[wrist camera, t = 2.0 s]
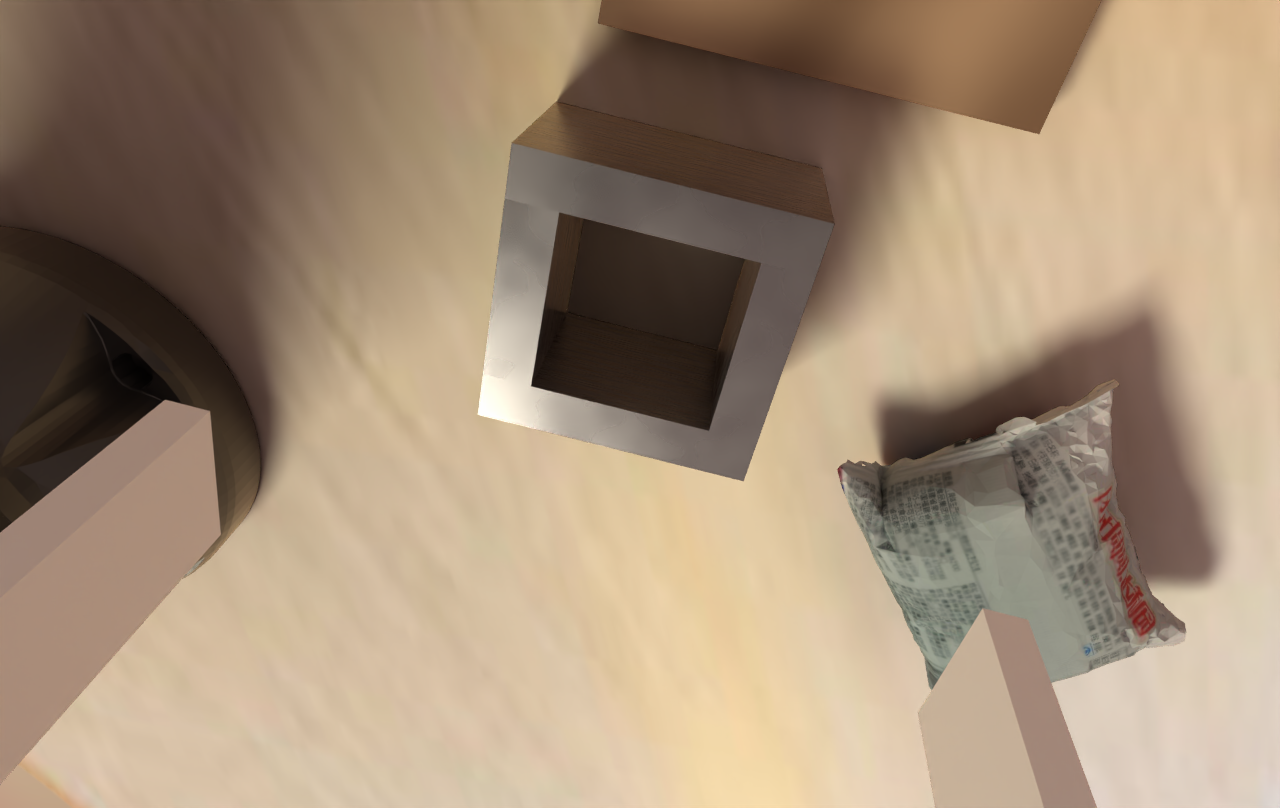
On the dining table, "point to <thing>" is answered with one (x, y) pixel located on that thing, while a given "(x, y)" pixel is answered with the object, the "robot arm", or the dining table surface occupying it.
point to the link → (630, 359)
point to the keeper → (891, 45)
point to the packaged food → (1014, 540)
